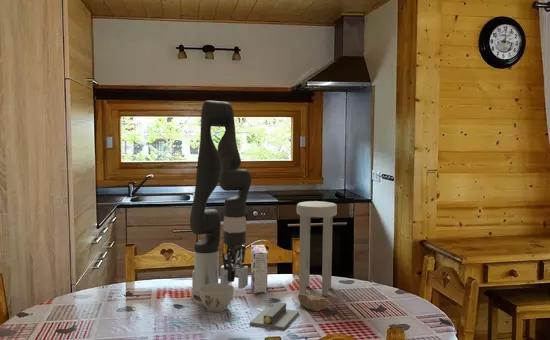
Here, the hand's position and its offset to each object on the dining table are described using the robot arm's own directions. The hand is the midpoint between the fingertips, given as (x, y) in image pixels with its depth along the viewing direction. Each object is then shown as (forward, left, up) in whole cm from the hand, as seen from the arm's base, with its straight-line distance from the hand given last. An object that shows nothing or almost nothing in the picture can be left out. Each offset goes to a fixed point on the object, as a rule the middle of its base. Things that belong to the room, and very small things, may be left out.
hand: (234, 279), depth 180 cm
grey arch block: (0, 0, -2) cm, 2 cm away
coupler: (+12, +7, -15) cm, 20 cm away
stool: (+16, +43, -15) cm, 48 cm away
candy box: (-6, +37, -15) cm, 40 cm away
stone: (+21, +23, -15) cm, 35 cm away
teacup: (-12, +8, -15) cm, 21 cm away
